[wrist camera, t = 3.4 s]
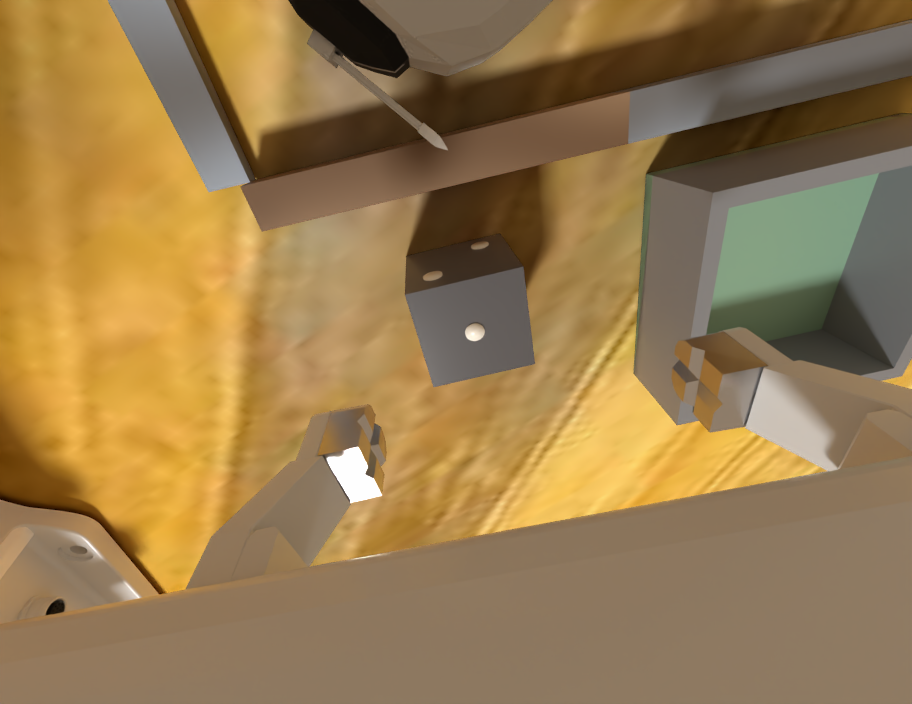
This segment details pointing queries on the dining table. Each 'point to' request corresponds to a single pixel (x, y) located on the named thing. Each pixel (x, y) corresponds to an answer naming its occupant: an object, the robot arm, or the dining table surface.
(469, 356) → the die
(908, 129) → the tray
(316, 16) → the robot toy
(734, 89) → the track
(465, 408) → the dining table surface
